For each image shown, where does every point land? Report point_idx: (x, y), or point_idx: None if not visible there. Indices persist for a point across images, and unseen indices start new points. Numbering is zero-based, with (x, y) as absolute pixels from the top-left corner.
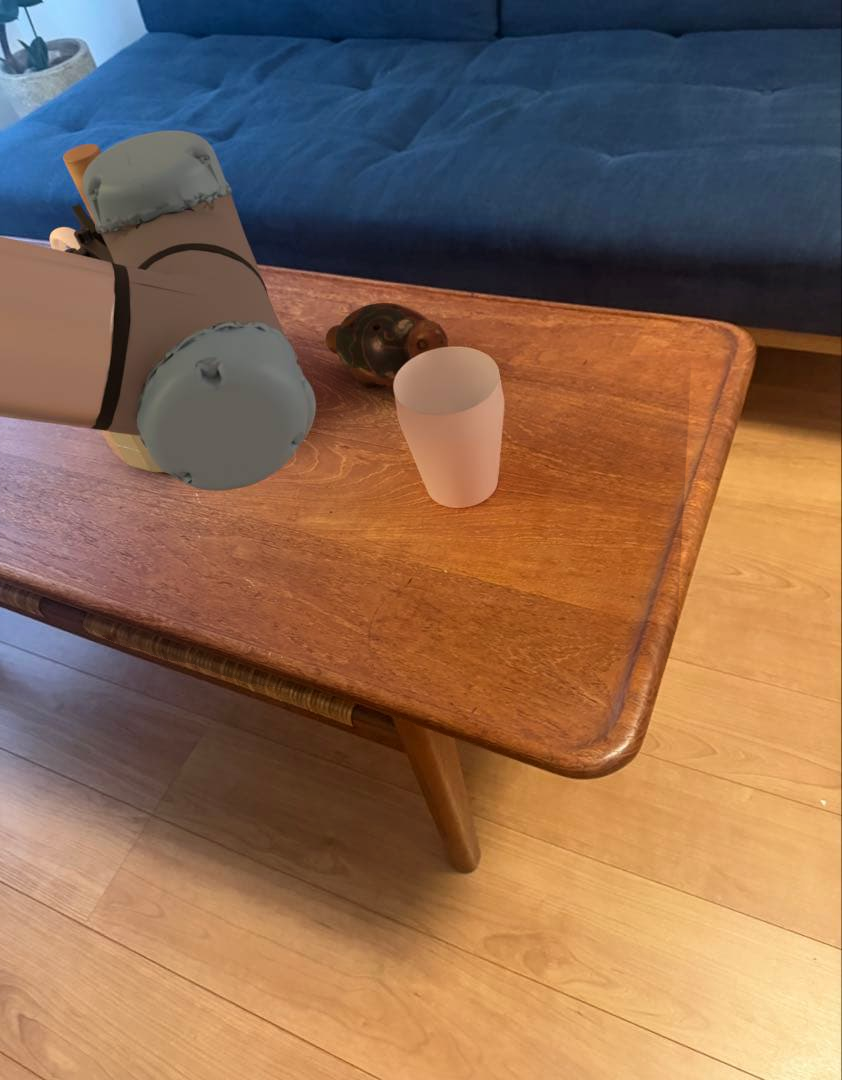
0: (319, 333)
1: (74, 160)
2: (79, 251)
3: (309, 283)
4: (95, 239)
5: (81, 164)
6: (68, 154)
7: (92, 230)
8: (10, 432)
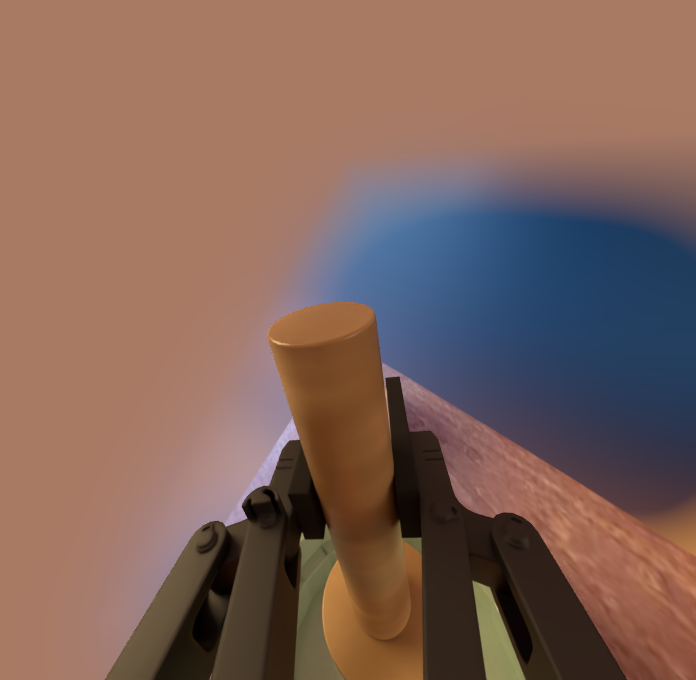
0: (612, 615)
1: (278, 342)
2: (240, 532)
3: (574, 486)
4: (280, 532)
5: (295, 359)
6: (293, 317)
7: (297, 483)
8: (231, 516)
